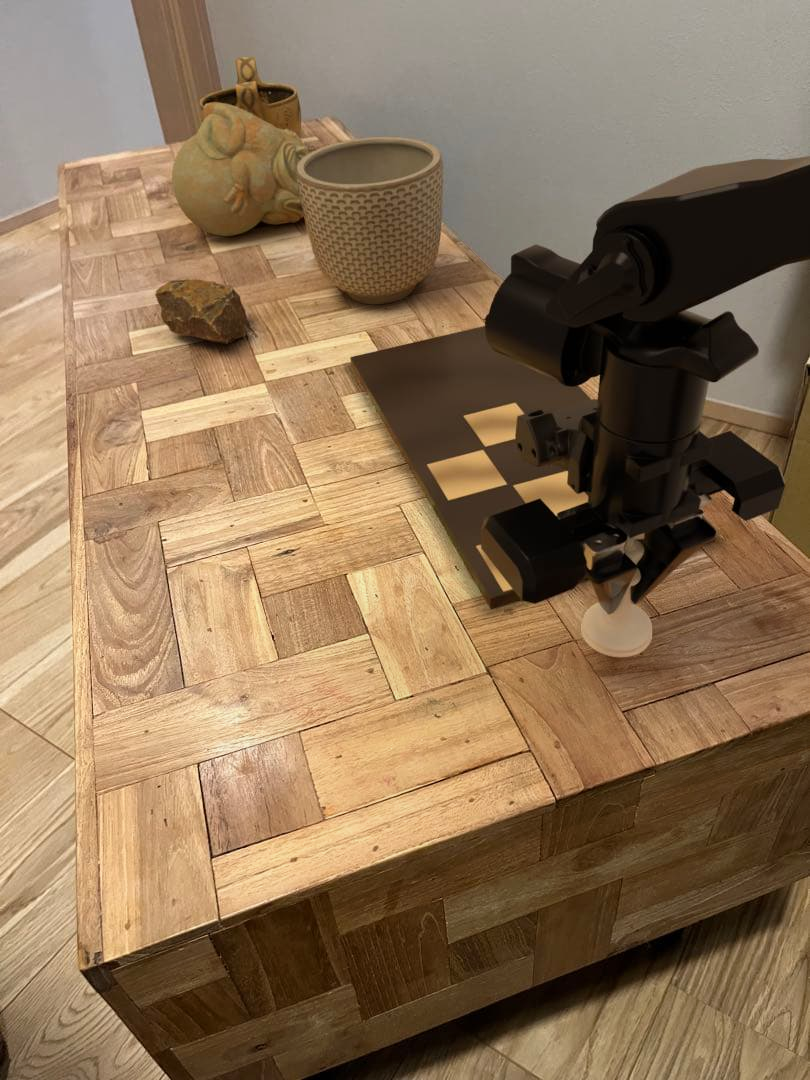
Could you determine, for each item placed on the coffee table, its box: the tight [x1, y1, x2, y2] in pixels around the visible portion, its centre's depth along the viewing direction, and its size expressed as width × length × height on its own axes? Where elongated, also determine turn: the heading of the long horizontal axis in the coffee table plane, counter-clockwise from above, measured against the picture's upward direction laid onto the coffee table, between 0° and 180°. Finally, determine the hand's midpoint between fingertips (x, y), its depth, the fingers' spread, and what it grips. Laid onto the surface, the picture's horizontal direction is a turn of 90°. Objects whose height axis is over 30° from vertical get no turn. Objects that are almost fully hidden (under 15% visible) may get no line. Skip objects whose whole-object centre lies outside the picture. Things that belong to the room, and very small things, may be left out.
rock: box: [154, 279, 247, 344], centre depth 98 cm, size 14×6×10 cm
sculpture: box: [171, 102, 311, 237], centre depth 120 cm, size 18×20×20 cm
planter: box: [296, 136, 444, 305], centre depth 101 cm, size 17×17×16 cm
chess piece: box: [580, 533, 653, 658], centre depth 55 cm, size 5×5×10 cm
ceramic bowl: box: [199, 56, 302, 138], centre depth 142 cm, size 22×17×15 cm
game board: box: [349, 325, 718, 609], centre depth 80 cm, size 40×20×1 cm, turn 19°
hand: (619, 604), depth 57 cm, fingers closed on chess piece
